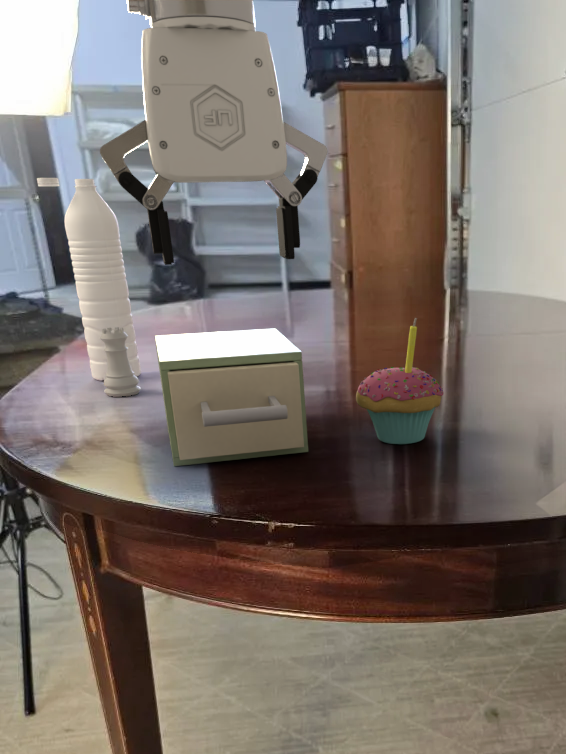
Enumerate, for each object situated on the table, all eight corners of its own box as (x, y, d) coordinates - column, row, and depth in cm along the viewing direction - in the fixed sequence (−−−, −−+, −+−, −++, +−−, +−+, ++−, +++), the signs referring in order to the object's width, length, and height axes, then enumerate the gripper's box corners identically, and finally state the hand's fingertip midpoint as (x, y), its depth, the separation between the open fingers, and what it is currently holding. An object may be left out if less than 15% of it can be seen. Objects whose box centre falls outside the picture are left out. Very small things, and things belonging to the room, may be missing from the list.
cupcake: (457, 434, 79) (459, 313, 74) (411, 455, 73) (410, 325, 68) (389, 422, 84) (387, 308, 79) (340, 442, 77) (334, 319, 73)
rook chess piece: (97, 396, 97) (85, 331, 93) (119, 388, 100) (108, 325, 97) (127, 398, 95) (116, 332, 92) (148, 390, 99) (139, 326, 96)
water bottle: (139, 369, 111) (110, 178, 101) (143, 378, 106) (112, 177, 95) (75, 375, 108) (37, 178, 98) (74, 384, 103) (35, 177, 92)
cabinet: (308, 451, 75) (301, 351, 71) (173, 466, 71) (158, 361, 67) (282, 415, 87) (275, 328, 83) (167, 425, 84) (154, 335, 80)
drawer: (316, 465, 68) (311, 376, 65) (183, 479, 65) (170, 388, 62) (280, 412, 85) (274, 340, 82) (172, 422, 82) (162, 347, 78)
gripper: (73, -6, 51) (118, 269, 58) (329, 7, 56) (342, 259, 63) (78, 18, 57) (118, 262, 64) (308, 27, 62) (322, 253, 69)
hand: (229, 260), depth 63 cm, fingers open, 9 cm apart
